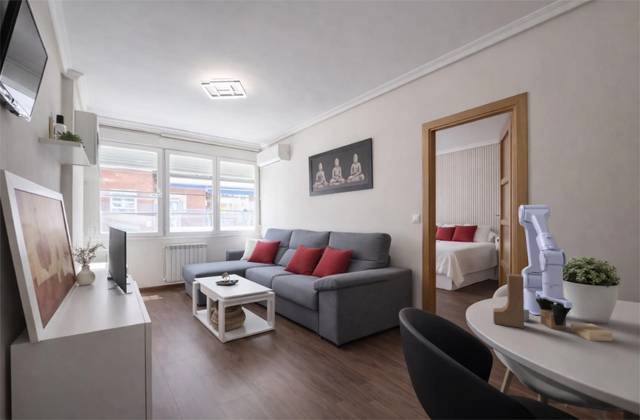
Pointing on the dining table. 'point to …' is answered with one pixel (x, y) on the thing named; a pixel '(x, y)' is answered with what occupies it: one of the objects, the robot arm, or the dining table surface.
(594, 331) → the oak block
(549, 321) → the walnut cube
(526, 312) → the grey cube
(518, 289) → the wooden block
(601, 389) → the dining table surface
